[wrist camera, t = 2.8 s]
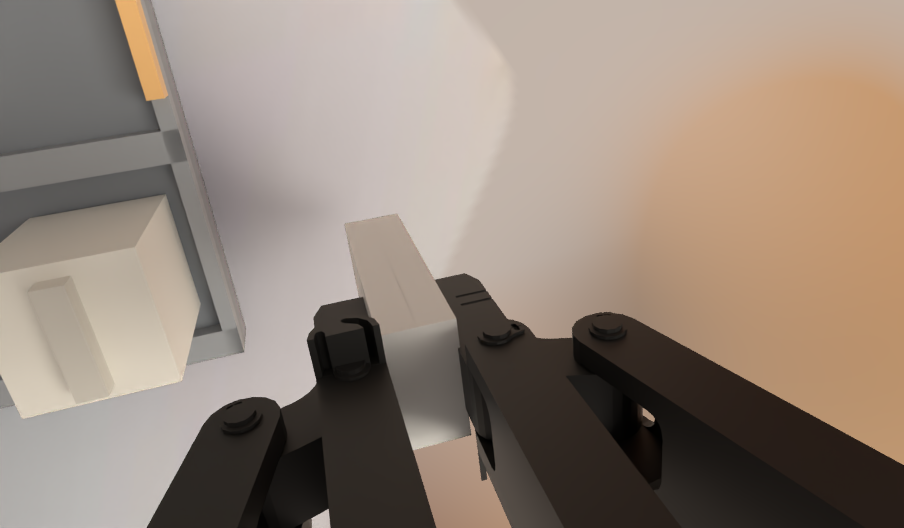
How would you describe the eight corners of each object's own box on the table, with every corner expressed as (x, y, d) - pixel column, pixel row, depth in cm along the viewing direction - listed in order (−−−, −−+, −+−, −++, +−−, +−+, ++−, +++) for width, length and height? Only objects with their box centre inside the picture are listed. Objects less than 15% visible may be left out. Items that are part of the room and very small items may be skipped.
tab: (76, 330, 21) (13, 433, 16) (29, 218, 19) (-58, 292, 14) (200, 304, 21) (179, 393, 16) (165, 194, 20) (129, 255, 15)
